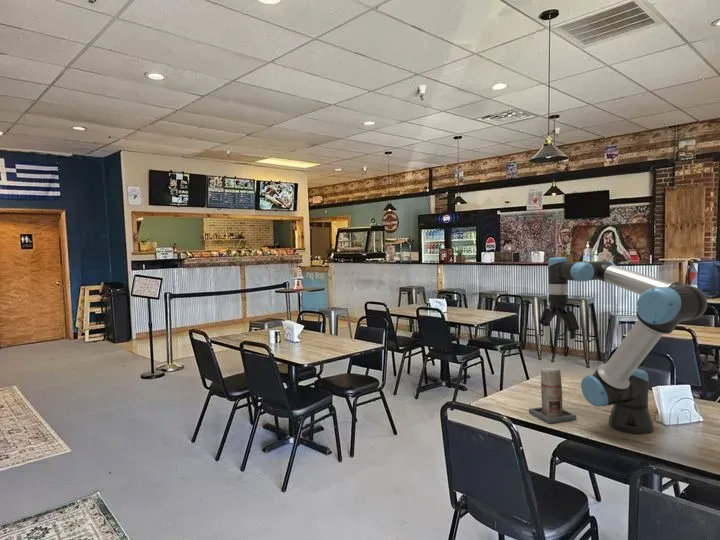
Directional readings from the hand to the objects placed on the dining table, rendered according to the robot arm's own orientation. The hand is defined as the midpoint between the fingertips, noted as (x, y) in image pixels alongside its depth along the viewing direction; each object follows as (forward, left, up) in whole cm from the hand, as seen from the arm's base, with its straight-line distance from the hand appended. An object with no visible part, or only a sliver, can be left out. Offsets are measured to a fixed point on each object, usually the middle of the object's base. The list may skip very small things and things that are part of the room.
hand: (558, 343), depth 197 cm
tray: (-3, +6, -30) cm, 30 cm away
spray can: (-3, +6, -29) cm, 30 cm away
